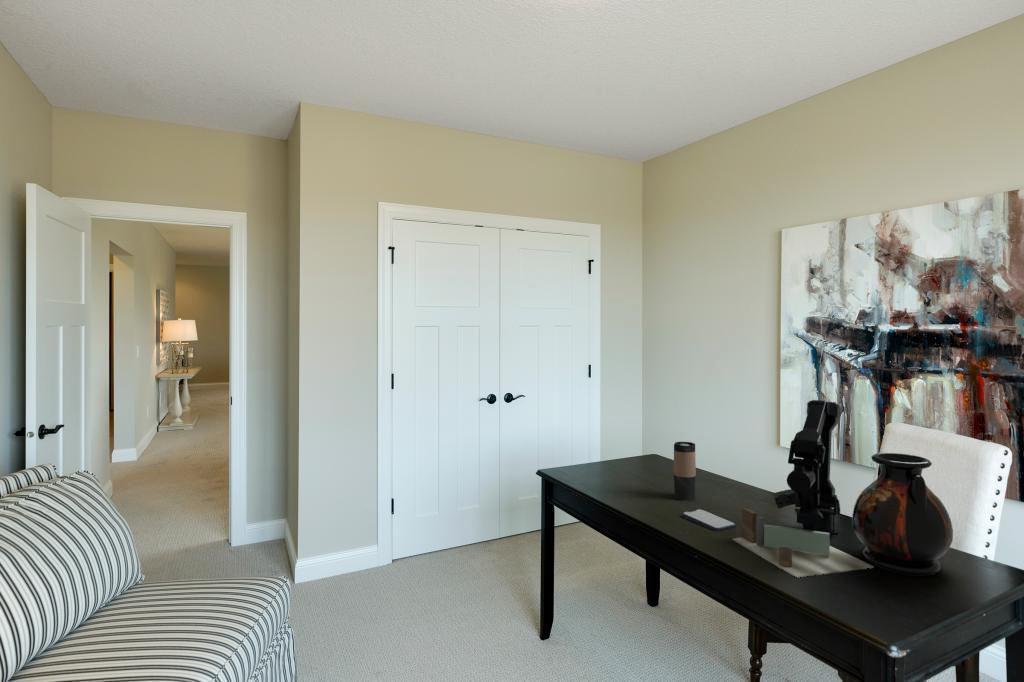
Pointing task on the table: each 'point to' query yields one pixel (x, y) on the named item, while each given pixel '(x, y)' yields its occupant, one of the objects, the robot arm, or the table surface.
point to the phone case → (708, 520)
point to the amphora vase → (902, 518)
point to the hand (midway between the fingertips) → (807, 538)
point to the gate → (792, 538)
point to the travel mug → (684, 470)
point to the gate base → (798, 554)
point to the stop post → (785, 557)
